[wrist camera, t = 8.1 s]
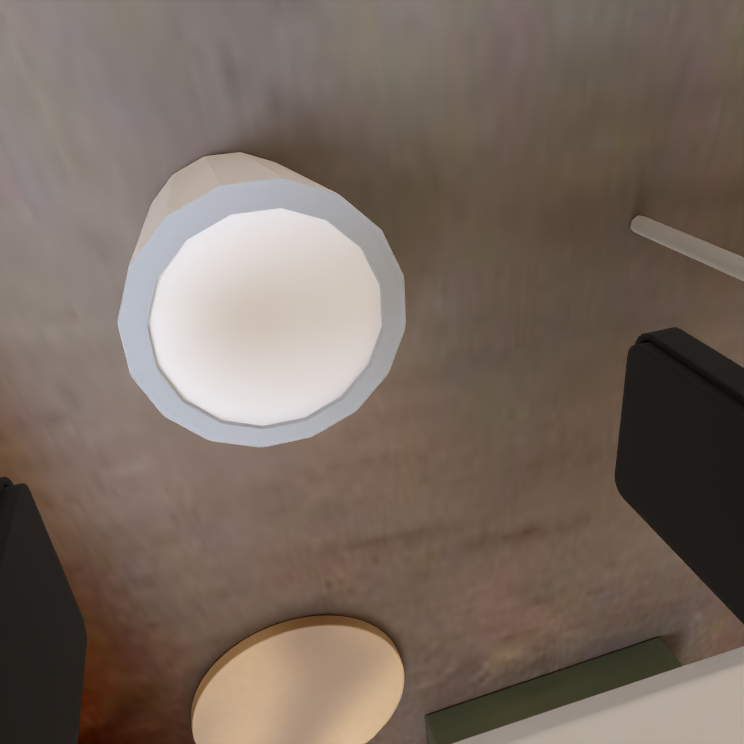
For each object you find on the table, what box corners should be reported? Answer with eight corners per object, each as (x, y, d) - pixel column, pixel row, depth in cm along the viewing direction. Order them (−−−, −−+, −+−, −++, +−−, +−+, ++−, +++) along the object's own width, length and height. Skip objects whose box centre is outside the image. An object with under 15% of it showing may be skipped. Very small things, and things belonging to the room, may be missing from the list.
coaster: (215, 793, 34) (216, 805, 34) (168, 655, 29) (168, 666, 29) (407, 727, 36) (411, 738, 36) (393, 589, 31) (397, 598, 31)
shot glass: (244, 80, 20) (288, 109, 14) (379, 249, 24) (459, 328, 18) (72, 233, 21) (46, 323, 15) (229, 377, 24) (258, 496, 19)
